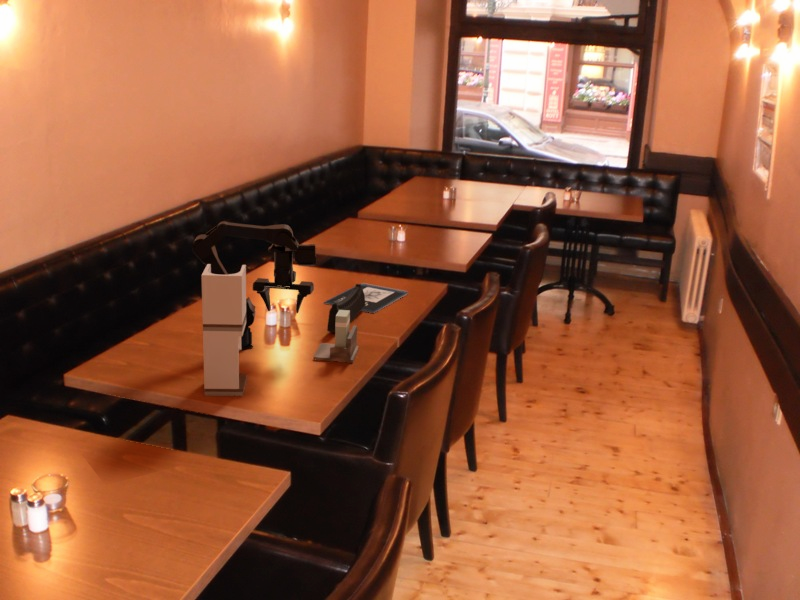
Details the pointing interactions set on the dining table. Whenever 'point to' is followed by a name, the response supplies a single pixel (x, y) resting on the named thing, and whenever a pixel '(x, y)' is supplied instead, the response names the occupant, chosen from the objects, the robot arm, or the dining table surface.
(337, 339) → the book
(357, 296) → the magazine
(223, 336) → the beige rectangular tower
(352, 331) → the book rack
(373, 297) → the sketchbook
